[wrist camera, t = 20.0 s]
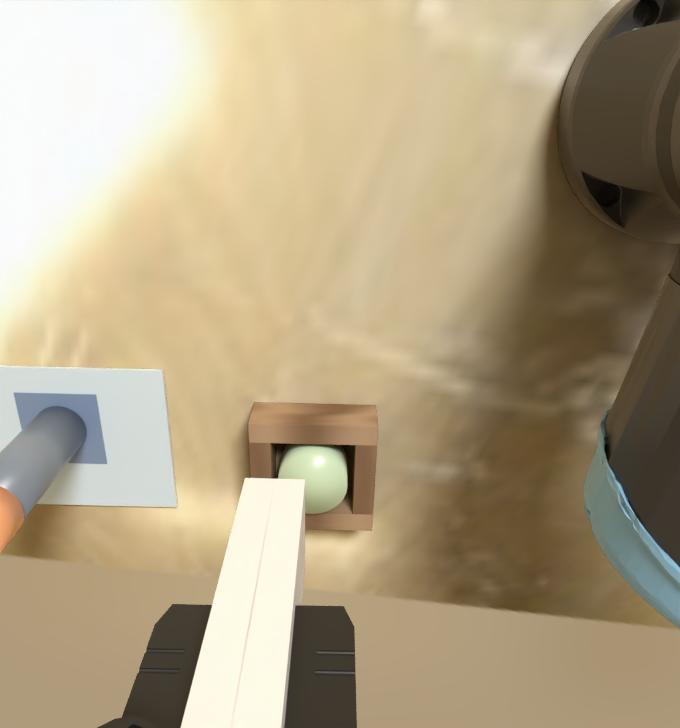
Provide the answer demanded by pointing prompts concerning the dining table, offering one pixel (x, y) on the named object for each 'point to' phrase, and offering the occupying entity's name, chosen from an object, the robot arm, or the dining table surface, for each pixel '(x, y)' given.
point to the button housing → (321, 428)
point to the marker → (35, 464)
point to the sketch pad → (99, 431)
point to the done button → (317, 473)
